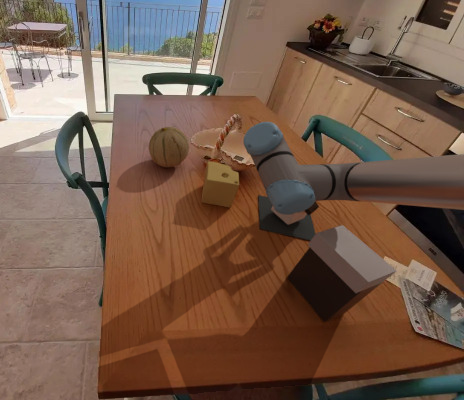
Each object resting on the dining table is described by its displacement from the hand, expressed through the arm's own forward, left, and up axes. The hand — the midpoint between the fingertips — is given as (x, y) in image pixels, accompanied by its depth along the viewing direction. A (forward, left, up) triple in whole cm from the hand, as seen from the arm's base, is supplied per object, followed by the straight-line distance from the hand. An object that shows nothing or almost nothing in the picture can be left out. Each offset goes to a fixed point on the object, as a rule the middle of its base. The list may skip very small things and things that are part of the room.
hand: (301, 202), depth 82 cm
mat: (-2, +3, -5) cm, 6 cm away
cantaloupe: (+14, +45, -6) cm, 47 cm away
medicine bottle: (-2, +3, -4) cm, 6 cm away
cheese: (+1, +25, -6) cm, 25 cm away
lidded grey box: (-29, -1, -5) cm, 29 cm away
